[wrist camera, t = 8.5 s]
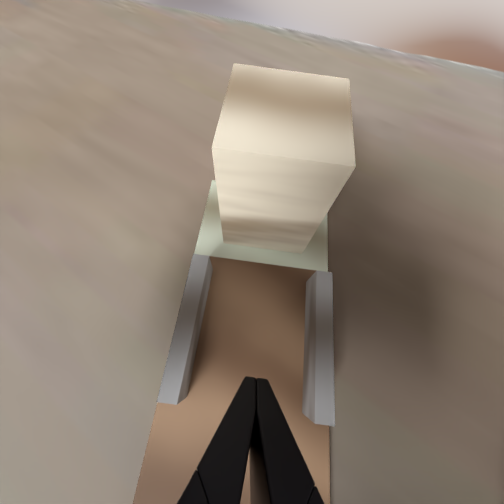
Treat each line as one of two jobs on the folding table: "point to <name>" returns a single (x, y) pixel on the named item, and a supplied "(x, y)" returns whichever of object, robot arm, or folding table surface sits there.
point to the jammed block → (281, 155)
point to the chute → (244, 354)
